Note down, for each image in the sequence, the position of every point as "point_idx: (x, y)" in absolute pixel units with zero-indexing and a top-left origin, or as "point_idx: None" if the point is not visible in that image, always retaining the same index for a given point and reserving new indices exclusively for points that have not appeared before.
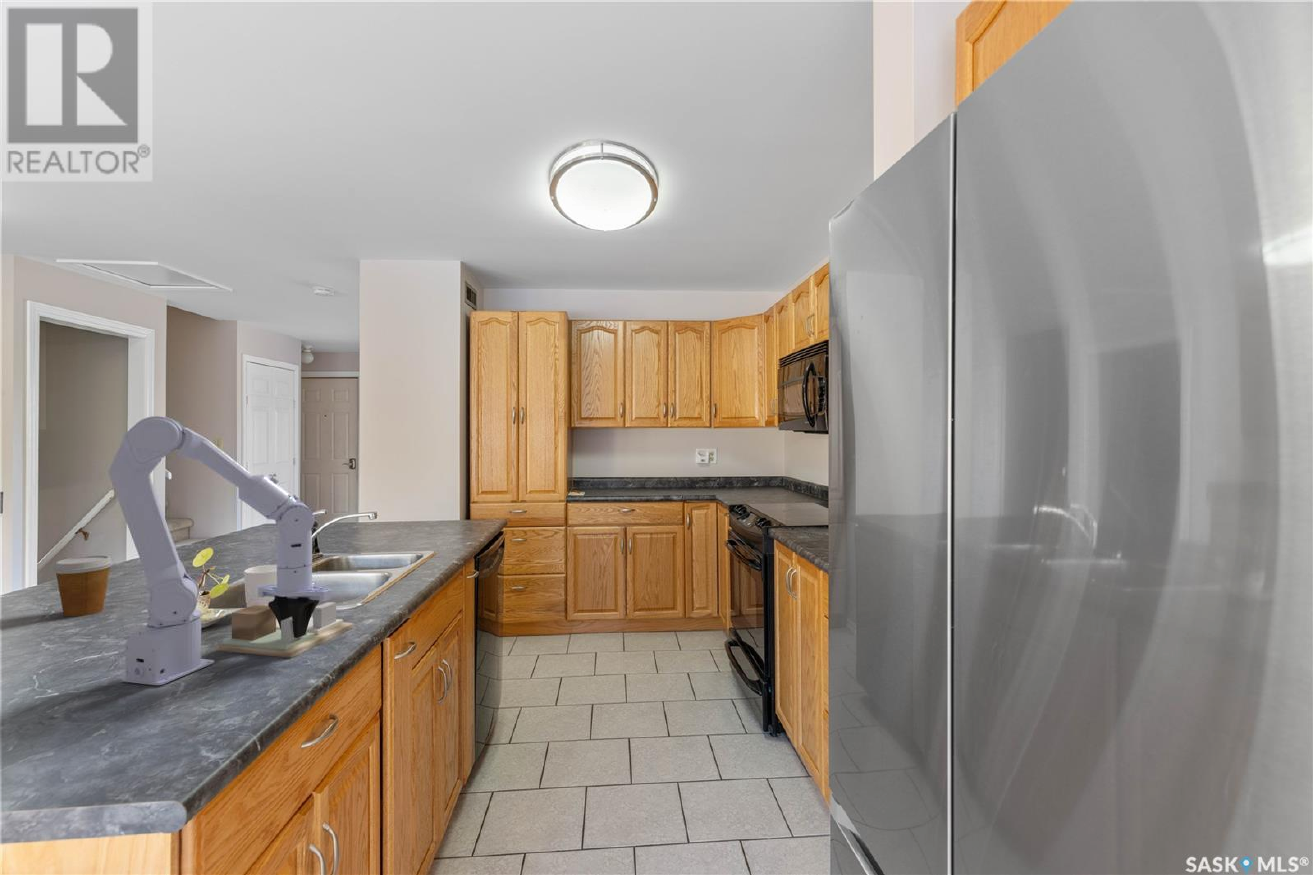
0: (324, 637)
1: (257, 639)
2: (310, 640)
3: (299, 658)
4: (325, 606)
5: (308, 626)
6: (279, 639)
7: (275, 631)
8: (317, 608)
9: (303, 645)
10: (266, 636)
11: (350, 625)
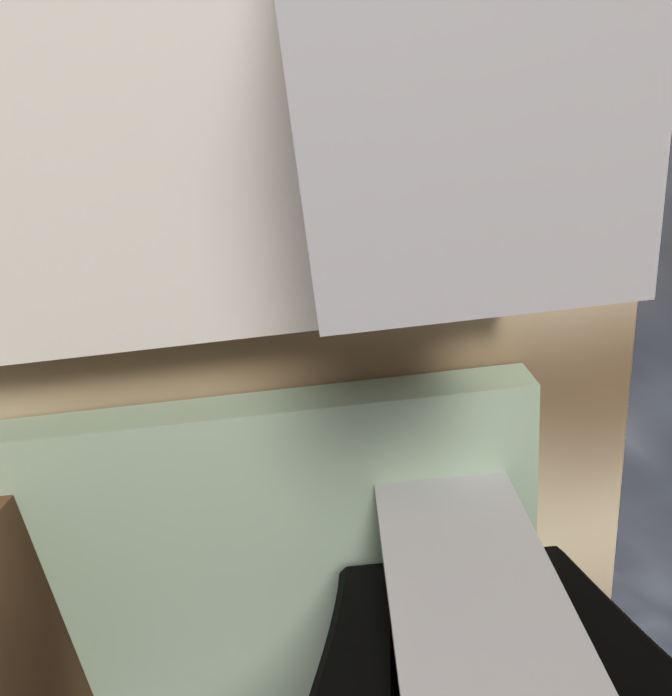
0: (632, 313)
1: (101, 692)
2: (550, 446)
3: (654, 627)
4: (626, 50)
5: (223, 216)
6: (316, 637)
7: (13, 504)
8: (491, 314)
9: (587, 559)
10: (92, 622)
11: None
